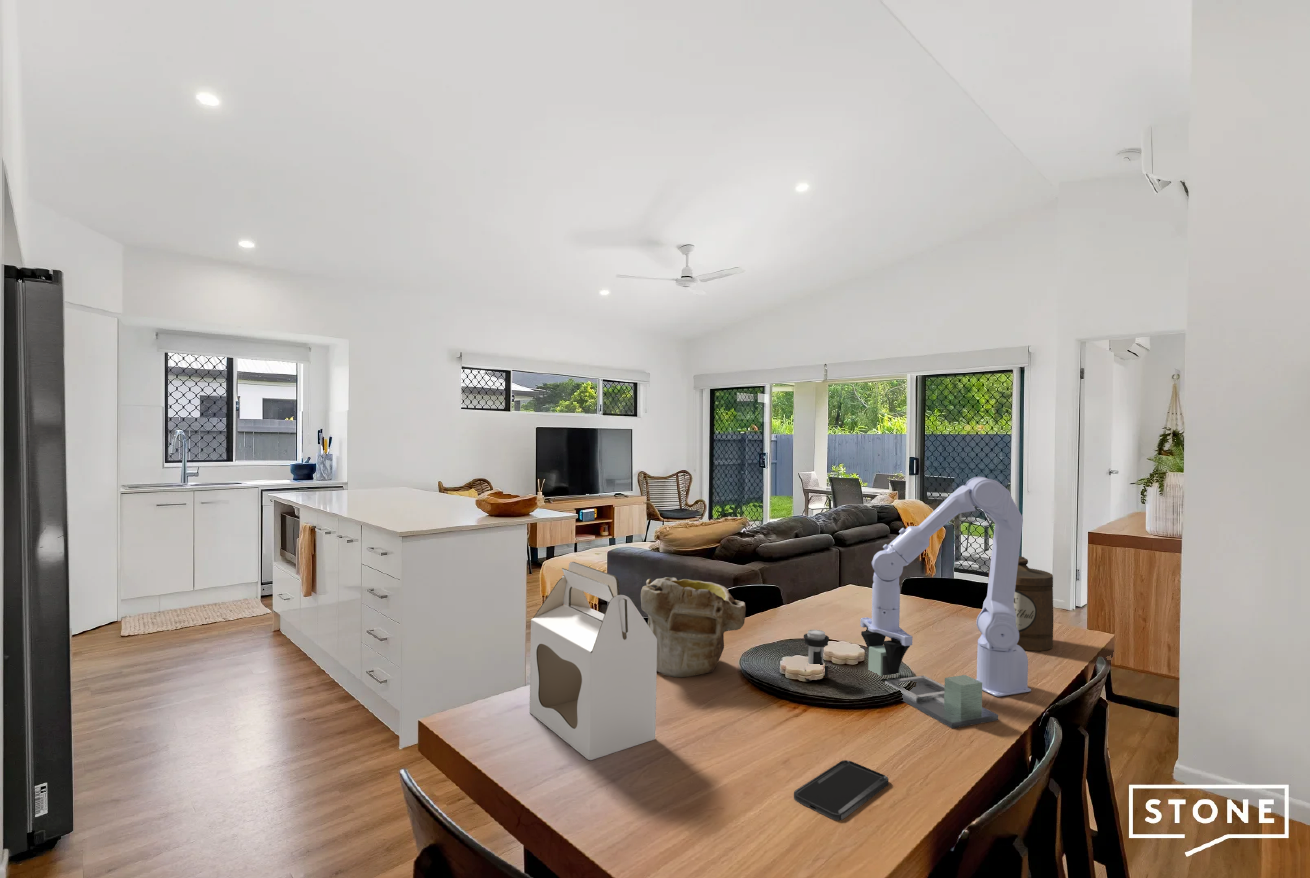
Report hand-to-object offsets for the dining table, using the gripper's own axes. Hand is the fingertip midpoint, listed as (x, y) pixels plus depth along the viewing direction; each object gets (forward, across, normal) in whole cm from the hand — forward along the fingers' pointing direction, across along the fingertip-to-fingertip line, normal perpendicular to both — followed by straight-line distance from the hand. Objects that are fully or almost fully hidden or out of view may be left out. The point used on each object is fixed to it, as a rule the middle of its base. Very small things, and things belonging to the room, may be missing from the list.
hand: (884, 668), depth 143 cm
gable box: (+2, +4, -67) cm, 67 cm away
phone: (+2, +36, -37) cm, 52 cm away
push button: (+2, -3, -16) cm, 16 cm away
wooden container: (+2, -9, +50) cm, 51 cm away
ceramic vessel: (+2, -17, -38) cm, 42 cm away
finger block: (+2, 0, 0) cm, 2 cm away
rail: (+2, +15, 0) cm, 15 cm away
